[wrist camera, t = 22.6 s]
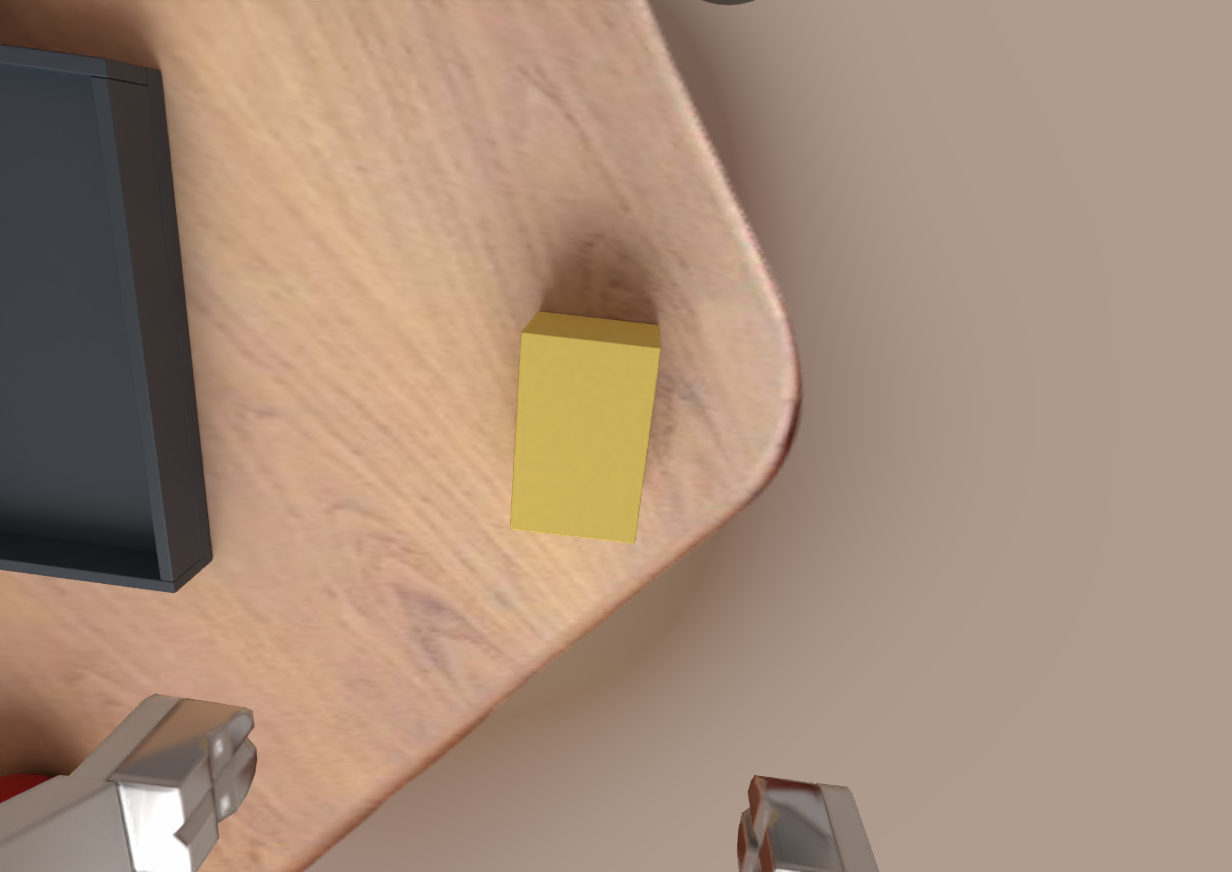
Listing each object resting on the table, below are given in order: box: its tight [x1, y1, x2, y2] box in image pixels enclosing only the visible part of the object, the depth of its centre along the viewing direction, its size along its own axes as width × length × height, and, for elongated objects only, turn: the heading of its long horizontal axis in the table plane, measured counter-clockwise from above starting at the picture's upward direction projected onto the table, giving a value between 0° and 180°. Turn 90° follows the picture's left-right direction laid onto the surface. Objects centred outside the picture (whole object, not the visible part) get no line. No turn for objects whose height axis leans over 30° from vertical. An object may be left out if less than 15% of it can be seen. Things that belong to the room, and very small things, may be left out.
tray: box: [0, 44, 212, 593], centre depth 27 cm, size 21×12×3 cm, turn 173°
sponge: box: [510, 311, 661, 543], centre depth 27 cm, size 8×5×4 cm, turn 174°
